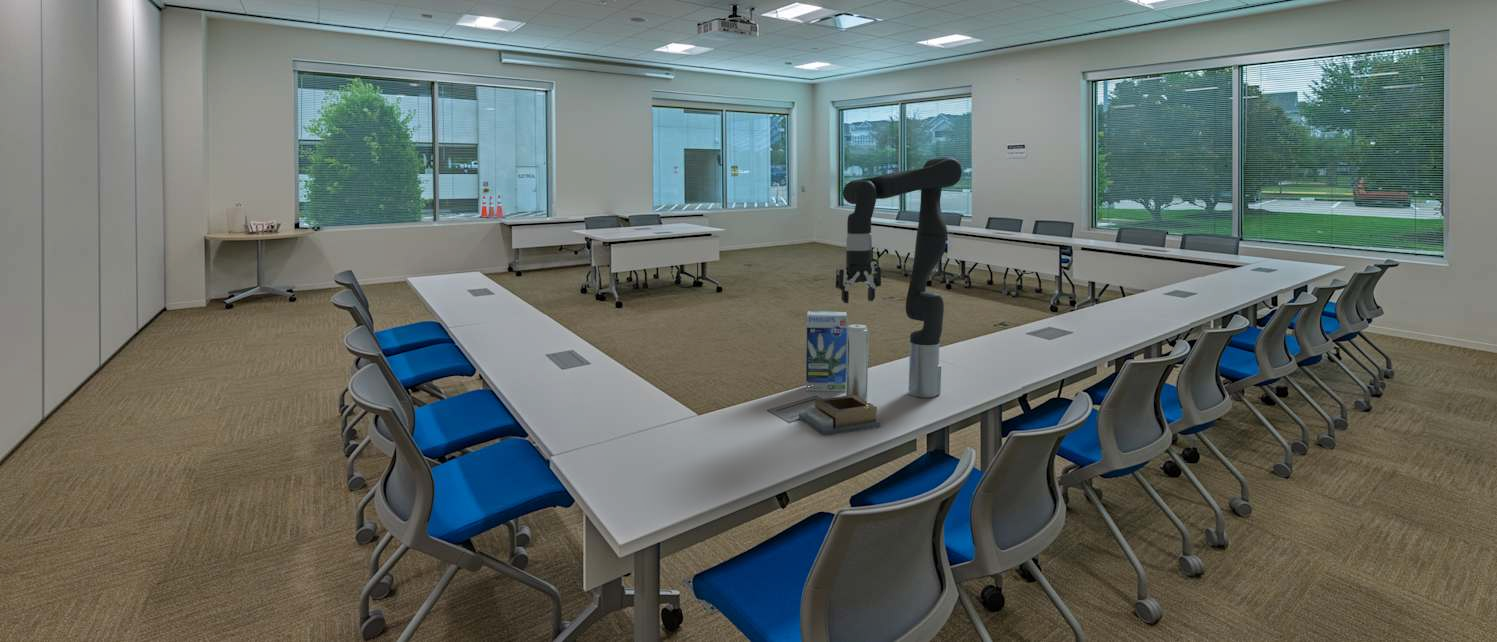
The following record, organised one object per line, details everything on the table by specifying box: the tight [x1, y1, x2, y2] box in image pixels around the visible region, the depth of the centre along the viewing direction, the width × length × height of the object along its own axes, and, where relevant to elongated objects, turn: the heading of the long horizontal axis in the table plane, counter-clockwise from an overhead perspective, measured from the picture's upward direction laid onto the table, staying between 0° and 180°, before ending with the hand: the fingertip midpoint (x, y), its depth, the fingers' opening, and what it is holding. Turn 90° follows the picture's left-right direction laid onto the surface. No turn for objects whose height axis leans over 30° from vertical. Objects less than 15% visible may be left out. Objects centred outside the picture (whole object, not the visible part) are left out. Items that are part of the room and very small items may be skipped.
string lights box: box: [805, 310, 848, 393], centre depth 243 cm, size 13×8×26 cm, turn 84°
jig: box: [798, 395, 882, 436], centre depth 211 cm, size 18×16×6 cm
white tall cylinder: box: [845, 323, 869, 402], centre depth 226 cm, size 6×6×25 cm
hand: (858, 301), depth 222 cm, fingers open, 8 cm apart
